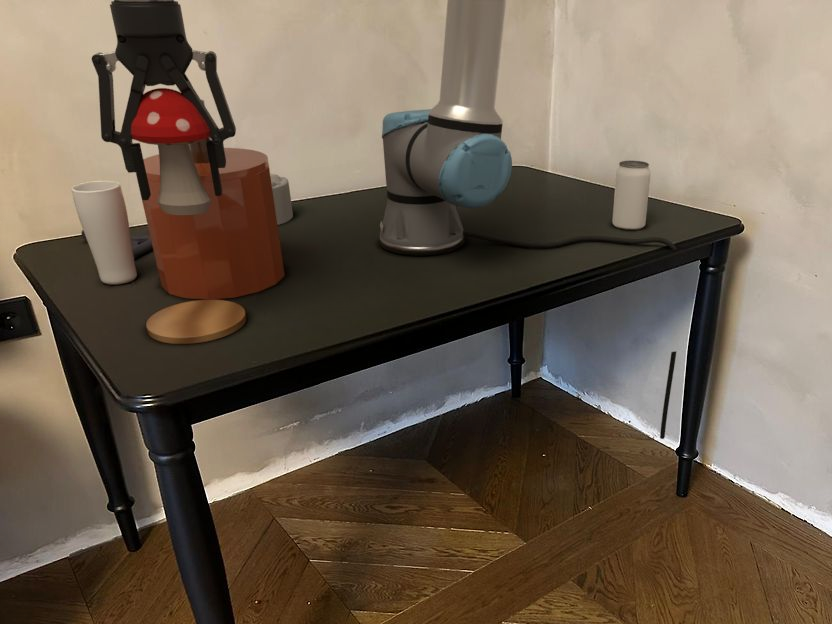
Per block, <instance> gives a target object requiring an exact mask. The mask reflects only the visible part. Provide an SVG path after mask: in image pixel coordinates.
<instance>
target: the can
mask: <svg viewBox="0 0 832 624" xmlns="http://www.w3.org/2000/svg"><path fill="white" fill-rule="evenodd" d="M618 164H619V165H618V167H617V169H616V172H615V183H614V196H613V208H612V222H611V223H612V225H613V227H615V228H617V229H619V230H625V231H638V230H641V229H643V228H644V227H645V226H646V220H647V213H648V204H649V192H650V182H651V171H650V168H649V166H650V164H649V163H648V162H646V161H643V160H635V159H634V160H629V159H628V160H622V161H619V163H618Z"/></svg>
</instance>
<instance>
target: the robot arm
mask: <svg viewBox="0 0 832 624" xmlns="http://www.w3.org/2000/svg"><path fill="white" fill-rule="evenodd" d="M506 7H507V0H447V3H446V15H445V26H444V27H445V29H444V39H443V40H444V42H443V53H442V63H441V66H442V67H441V78H440V90H439V100H438V102H437V103H436V105H434V106H433V107H432V108H430V109H427V108H426V109H415V110H403V111H395V112H390V113H387V114H386V115H385V116H384V117H383V119H382V127H381V128H382V132H381V139H382V145H383V147H382V149H383V160H384V161H383V162H384V171H385V174H384V175H385V184H386V198H387V200H386V207H385V210H384V213H383V219H382V220H381V221H380V224H379V228H380V229H379V244H380V246H381V247H382V248H383V249H384V250H385V251H388V252H390V253H393V254H398V255H403V256H413V257H414V256H419V257H421V256H422V257H423V256H434V255H441V254H447V253H449V252H452V251H455V250H458V249H459V248H461V247H462V246H463V245H464V244H465V237H467V238H472V239H477V240H478V239H479V240H482V241H486V242H492V243H497V244H502V245H508V246H515V247H521V248H531V249H532V248H533V249H547V248H549V249H550V248H557V247H561V246H566V245H569V244H574V243H578V242H579V243H580V242H607V243H608V242H609V243H616V244H626V245H642V244H649V243H650V244H651V243H658V244H659V243H660V244H663V245H664V246H666V247H668V248H669V249H671V250H675V251H676V250H678V248H677V247H676V245H675V244H674V243H672V242H671V241H670V240H668V239H666V238H665V237H658V236H652V237H651V236H650V237H643V238H642V237H641V238H626V237H616V236H608V235H607V236H606V235H579V236H573V237H568V238H564V239H561V240H557V241H550V242H549V241H548V242H537V241H536V242H533V241H523V240H515V239H508V238H502V237H497V236H493V235H488V234H483V233H479V232H473V231H468V230H464V227H463V225H462V222H461V219H460V215H459V212H458V210H457V207H462V208H465V209H479V208H483V207H485V206H486V207H487V206H488V205H490V204H492V202H494V201H495V200H496V199H497V197H499V196H501V195H502V193H503V191H505V189H506V187H507V185H508V183H509V182H510V178H511V175H512V170H513V157H512V154H511V151H510V150H509V149H508V146H507V144H506V143H505V141H503V140H502V132H503V125H504V123H503V122H504V121H503V119H502V118H501V116H500V115H499V113H498V112H497V110H496V99H497V90H498V81H499V70H500V62H501V53H502V45H503V35H504V26H505V25H504V24H505V16H506ZM109 8H110V13H111V19H112V21H113V26H114V30H115V35H116V36H115V37H116V41H117V42H116V47H115V51H110V52H104V53H103V52H96V53H95V54H93V55H92V56H91V62H92V64H93V67H94V70H95V72H96V74H97V77H98V78H97V79H98V80H97V81H98V100H99V101H98V102H99V116H100V119H99V120H100V136H101V139H102V141H103V142H105V143H112V144H115V145H117V146H119V148H120V149H121V154H122V158H123V162H124V167H125V170H126V171H127V173H128V174H131V173H135V176H136V175H137V176H136V181H137V180H138V181H137V184H139V185H138V190H139V193H141V194H140V198H141V201H142V200H149V198H150V196H151V192H150V188H149V183H148V179H147V174H146V169H145V165H144V160H143V159H144V155H143V151H142V147H141V142H133V141H134V139H132V138H131V137H132V135H131V125H132V122H133V120H134V119H135V117H136V115H137V111H138V107H139V103H140V100H141V97H142V95H143V94H144V93H145V89H146V87H154V86H157V85H163V86H167V87H168V86H176V88H177V89H178V92H181V93H182V94H183V96H184V97H185V98H186V99H187V100H189V101H190V102H191V103H192V104H193V105H194V106H195V107H196V108H197V110H198V111H199V113H200V114H201V116H202V117H203V119H204V120H205V121H206V123H207V125H208V127H209V129H210V138H211V140H207V144H206V146H207V152H208V157H209V163H210V169H211V174H212V180H213V186H214V191H215V196H221V195H222V186H221V180H220V175H219V169H218V168H225V166H226V156H225V150H224V148H225V145H224V141H226V140H228V139H229V138H234V137H235V136H236V132H237V128H236V124H235V122H234V119H233V116H232V113H231V110H230V107H229V104H228V101H227V97H226V95H225V92H224V89H223V86H222V83H221V80H220V77H219V75H218V74H219V73H218V72H217V71H218V69H217V68H218V55H217V53H215V52H214V51H213V50H208V51H201V50H194V49H193V48H192V46H191V45H190V43H189V42H188V41H189V40H188V39H187V34H186V29H185V23H184V18H183V11H182V7H181V4H180V3H179V1H177V0H112V1H111V2H110V4H109ZM118 61H119V63H121V65H122V66H123V67H124V68H125V69H126V70H128V72H129V74H131V75H132V80H131V85H130V88H129V89H130V91H129V96H128V100H127V103H126V108H125V112H124V117H123V121H122V125H121V129H120V131H117V130H116V114H115V91H114V89H115V88H114V75H113V72H115V71H116V70H117V63H118ZM193 61H195V62H196V63H197V66H198V68H199V70H201V71H203V72H205V77H206V81H207V83H208V87H209V90H210V92H211V96H212V99H213V101H214V104H215V107H216V110H217V112H218V115H219V119H220V122H221V124H222V127H219V126H218V124H217V123H216V121H215V120H214V119H213V117H212V115H211V114H210V112H209V110H208V108H207V107H206V105H205V106H204V104H203V102H202V101H201V100H202V99H201V98H200V96H199V95H198V93H197V91H196V90H195V88H194V87H193V85H192V82H191V81H190V79H189V78H188V76H187V74H186V72H187V70H188V68H189V67H190V64H191V62H193ZM670 352H671V353H670V360H669V365H668V374H667V381H666V387H665V393H664V402H663V409H662V415H661V423H660V434H659V438H660V439H661V440H665V438H666V428H667V420H668V412H669V405H670V397H671V392H672V385H673V379H674V371H675V365H676V358H677V351H670Z"/></svg>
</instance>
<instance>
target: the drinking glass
mask: <svg viewBox="0 0 832 624" xmlns="http://www.w3.org/2000/svg"><path fill="white" fill-rule="evenodd" d="M70 190H71V194H72V199H73V203H74V207H75V210H76V214H77V217H78V220H79V223H80V226H81V229H82V230H83V231H84V234H85V236H86V239H87V241H86V242H87V245H88V247H89V249H90V252H91V255H92V258H93V261H94V264H95V266H96V269H97V273H98V276H99V279H100V281H101V282H102V283H104V284H106V285H109V286H110V285H111V286H117V285H118V286H119V285H123V284H128V283H131V282H133V281H134V280H136V278H137V276H138V272H137V268H136V263H135V259H134V256H133V249H132V243H131V236H132V235H131V230H130V223H129V216H128V210H127V205H126V204H127V203H126V201H125V197H124V192H123V190H122V186H121V183H120V182H118V181H116V180H115V181H114V180H92V181H86V182H81V183H78V184H75V185H73V186H72V187H71V188H70Z"/></svg>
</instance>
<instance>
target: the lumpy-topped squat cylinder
mask: <svg viewBox="0 0 832 624" xmlns="http://www.w3.org/2000/svg"><path fill="white" fill-rule="evenodd" d="M270 174H271V181H272V188H273V195H274V202H275V209H276V216H277V223H278V226H279V225H281V224H282V225H283V224H285V223H287V222H289V221H291V220H292V219H293V217H294V213H293V205H292V196H291V190H290V183H289V179H288V178H287V177H284V176H279V175H278V174H276V173H271V172H270Z"/></svg>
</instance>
